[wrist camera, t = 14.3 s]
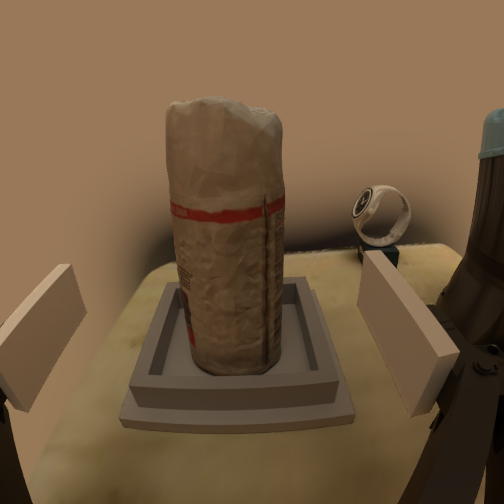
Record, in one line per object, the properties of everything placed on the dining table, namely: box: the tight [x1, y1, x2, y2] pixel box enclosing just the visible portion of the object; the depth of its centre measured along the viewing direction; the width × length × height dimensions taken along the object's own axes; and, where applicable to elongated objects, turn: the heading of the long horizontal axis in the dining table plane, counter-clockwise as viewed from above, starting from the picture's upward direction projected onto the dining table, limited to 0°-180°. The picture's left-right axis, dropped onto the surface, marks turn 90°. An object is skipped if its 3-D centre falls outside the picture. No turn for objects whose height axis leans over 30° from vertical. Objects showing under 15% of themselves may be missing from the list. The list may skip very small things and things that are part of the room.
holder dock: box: [119, 277, 356, 434], centre depth 27 cm, size 17×17×4 cm
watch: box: [352, 185, 411, 269], centre depth 40 cm, size 6×8×11 cm
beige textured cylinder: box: [166, 96, 285, 376], centre depth 23 cm, size 8×8×20 cm
